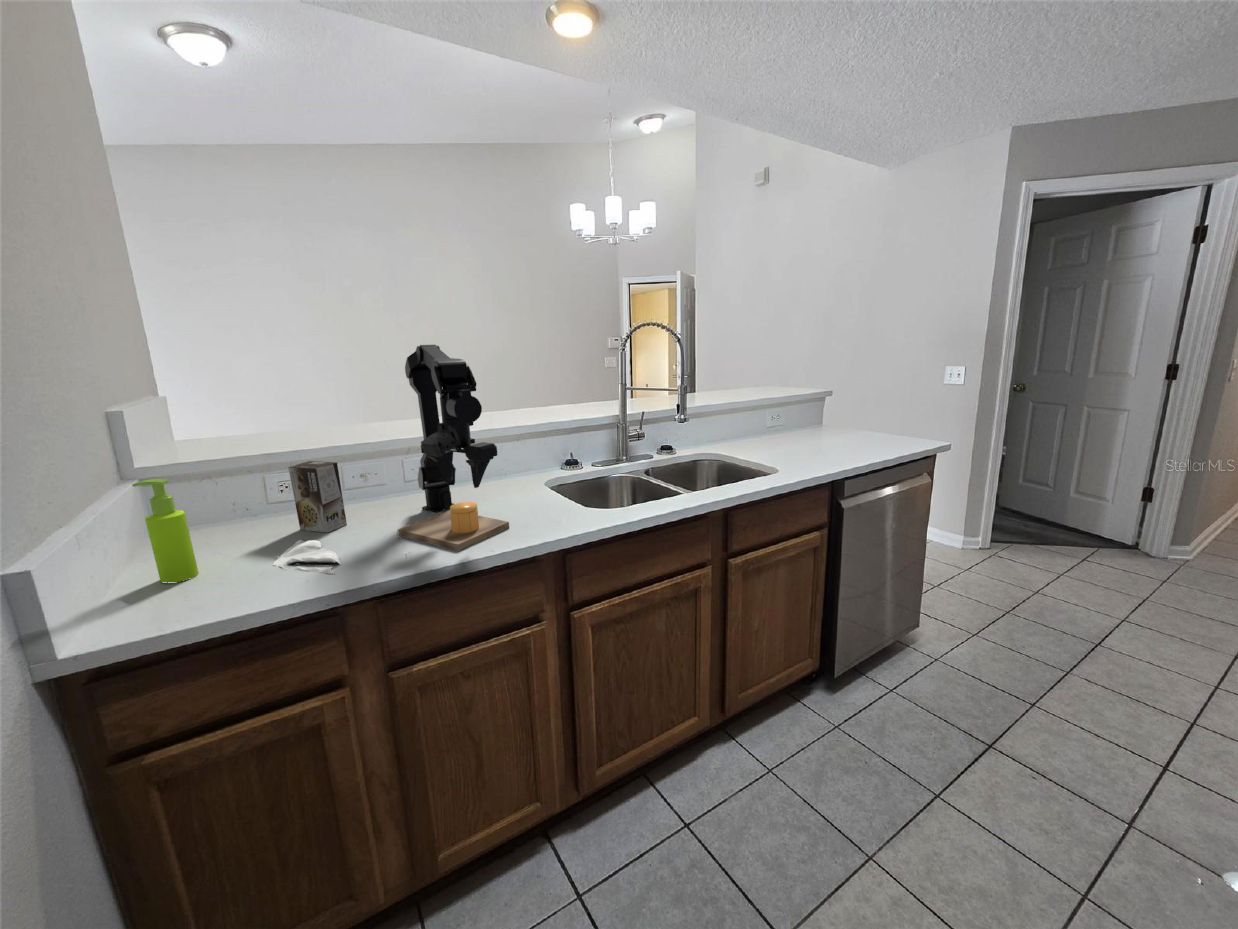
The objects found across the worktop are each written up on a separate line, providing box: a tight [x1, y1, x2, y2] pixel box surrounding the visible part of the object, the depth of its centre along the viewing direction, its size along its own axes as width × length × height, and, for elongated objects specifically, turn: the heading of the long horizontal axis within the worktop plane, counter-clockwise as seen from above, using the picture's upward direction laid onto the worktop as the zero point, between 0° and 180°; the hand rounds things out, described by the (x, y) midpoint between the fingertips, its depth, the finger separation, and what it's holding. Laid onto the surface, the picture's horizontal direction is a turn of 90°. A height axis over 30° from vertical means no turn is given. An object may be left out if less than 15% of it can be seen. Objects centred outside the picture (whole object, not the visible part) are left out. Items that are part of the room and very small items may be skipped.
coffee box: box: [288, 460, 348, 533], centre depth 131 cm, size 9×6×16 cm
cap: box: [449, 501, 479, 533], centre depth 124 cm, size 6×6×6 cm
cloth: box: [272, 539, 342, 575], centre depth 114 cm, size 26×14×2 cm, turn 31°
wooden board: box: [397, 509, 510, 552], centre depth 127 cm, size 20×16×2 cm
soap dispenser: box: [131, 478, 199, 583], centre depth 103 cm, size 6×7×20 cm
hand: (462, 485), depth 122 cm, fingers open, 9 cm apart
